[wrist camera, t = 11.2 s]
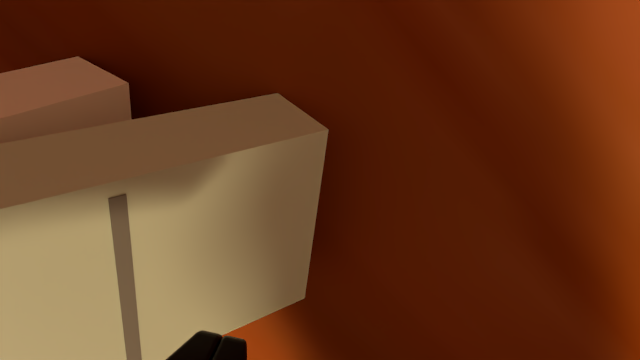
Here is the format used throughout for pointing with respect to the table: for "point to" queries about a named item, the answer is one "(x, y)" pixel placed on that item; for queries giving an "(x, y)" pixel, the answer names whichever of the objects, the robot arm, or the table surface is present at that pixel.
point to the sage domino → (156, 229)
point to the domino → (60, 99)
